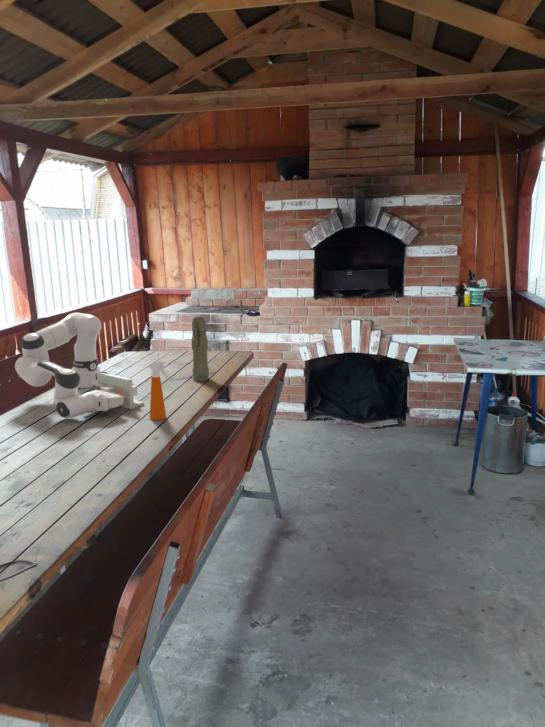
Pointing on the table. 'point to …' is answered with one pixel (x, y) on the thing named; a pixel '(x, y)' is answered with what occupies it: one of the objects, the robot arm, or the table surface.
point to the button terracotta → (123, 391)
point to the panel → (120, 383)
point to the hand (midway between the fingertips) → (118, 394)
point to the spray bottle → (157, 392)
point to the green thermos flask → (199, 349)
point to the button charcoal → (98, 386)
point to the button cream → (109, 389)
